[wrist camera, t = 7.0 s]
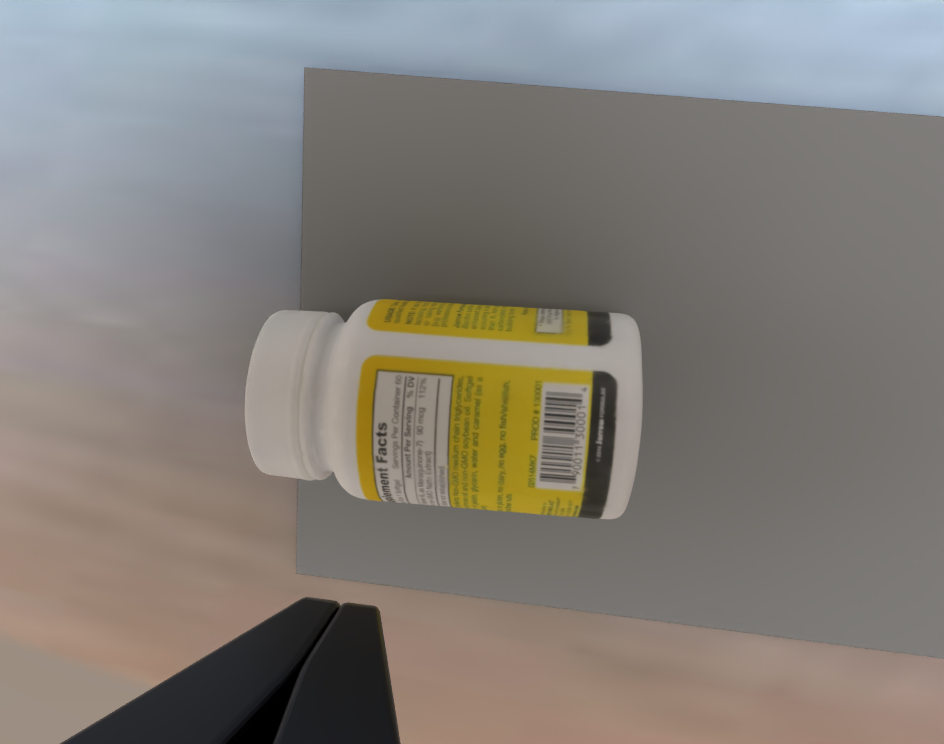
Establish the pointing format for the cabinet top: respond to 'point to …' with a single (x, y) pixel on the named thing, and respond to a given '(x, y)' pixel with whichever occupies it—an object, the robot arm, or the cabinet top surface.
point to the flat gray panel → (663, 342)
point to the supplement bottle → (452, 405)
